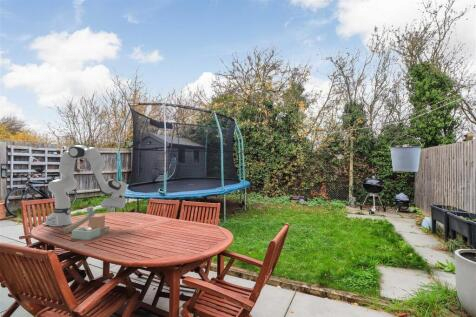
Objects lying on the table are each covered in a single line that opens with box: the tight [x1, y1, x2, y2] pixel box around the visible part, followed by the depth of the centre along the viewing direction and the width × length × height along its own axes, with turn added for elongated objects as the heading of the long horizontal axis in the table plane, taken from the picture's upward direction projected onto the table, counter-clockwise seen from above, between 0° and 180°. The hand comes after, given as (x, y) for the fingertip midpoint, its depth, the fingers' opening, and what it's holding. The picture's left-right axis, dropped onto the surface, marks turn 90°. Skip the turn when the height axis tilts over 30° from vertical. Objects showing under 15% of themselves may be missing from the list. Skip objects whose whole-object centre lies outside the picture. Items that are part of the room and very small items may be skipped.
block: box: [90, 214, 106, 229], centre depth 227 cm, size 7×7×9 cm
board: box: [84, 225, 110, 236], centre depth 225 cm, size 14×12×4 cm
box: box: [71, 226, 101, 241], centre depth 213 cm, size 14×12×6 cm
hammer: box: [63, 206, 95, 234], centre depth 236 cm, size 16×5×30 cm
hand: (109, 211), depth 241 cm, fingers closed
